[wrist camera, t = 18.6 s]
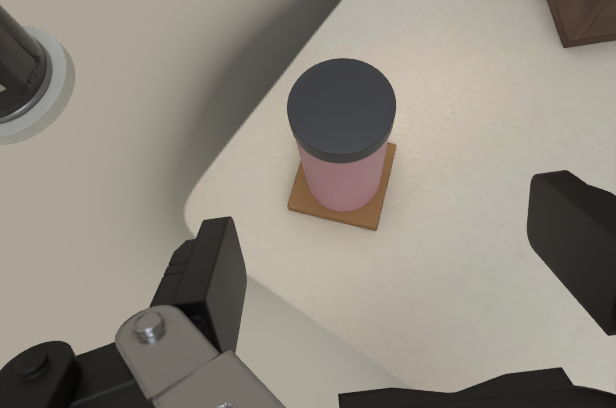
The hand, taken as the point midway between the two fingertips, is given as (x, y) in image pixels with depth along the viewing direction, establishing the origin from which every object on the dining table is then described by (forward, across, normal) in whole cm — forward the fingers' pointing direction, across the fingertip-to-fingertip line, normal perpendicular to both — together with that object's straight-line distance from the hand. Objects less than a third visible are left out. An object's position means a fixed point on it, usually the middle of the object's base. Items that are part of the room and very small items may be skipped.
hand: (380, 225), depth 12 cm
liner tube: (+18, 0, +7) cm, 20 cm away
